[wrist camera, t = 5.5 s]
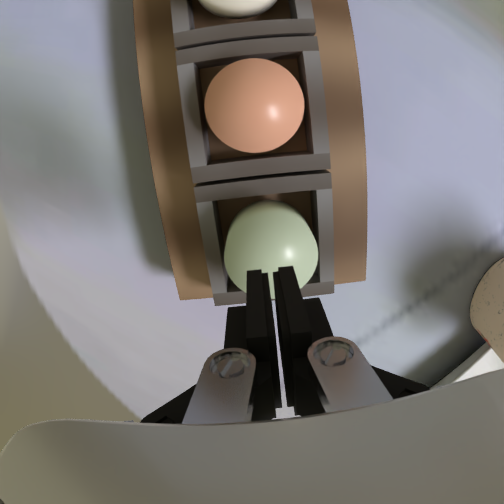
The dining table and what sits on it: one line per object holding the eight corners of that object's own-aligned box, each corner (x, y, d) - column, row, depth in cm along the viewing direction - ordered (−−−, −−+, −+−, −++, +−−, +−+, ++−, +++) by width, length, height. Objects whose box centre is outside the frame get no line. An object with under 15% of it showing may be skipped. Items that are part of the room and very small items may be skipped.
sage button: (221, 204, 16) (217, 218, 14) (307, 195, 16) (316, 207, 14) (233, 280, 18) (231, 303, 16) (311, 272, 18) (319, 293, 16)
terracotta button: (206, 73, 14) (199, 65, 12) (291, 64, 14) (298, 54, 12) (216, 153, 16) (211, 158, 14) (300, 144, 16) (308, 148, 14)
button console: (145, -20, 14) (120, -49, 10) (323, -39, 14) (341, -73, 9) (187, 278, 23) (174, 317, 18) (352, 261, 23) (375, 296, 18)
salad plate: (496, 311, 25) (514, 329, 22) (519, 386, 31) (530, 401, 28) (339, 429, 31) (345, 453, 28) (409, 467, 37) (415, 483, 34)
